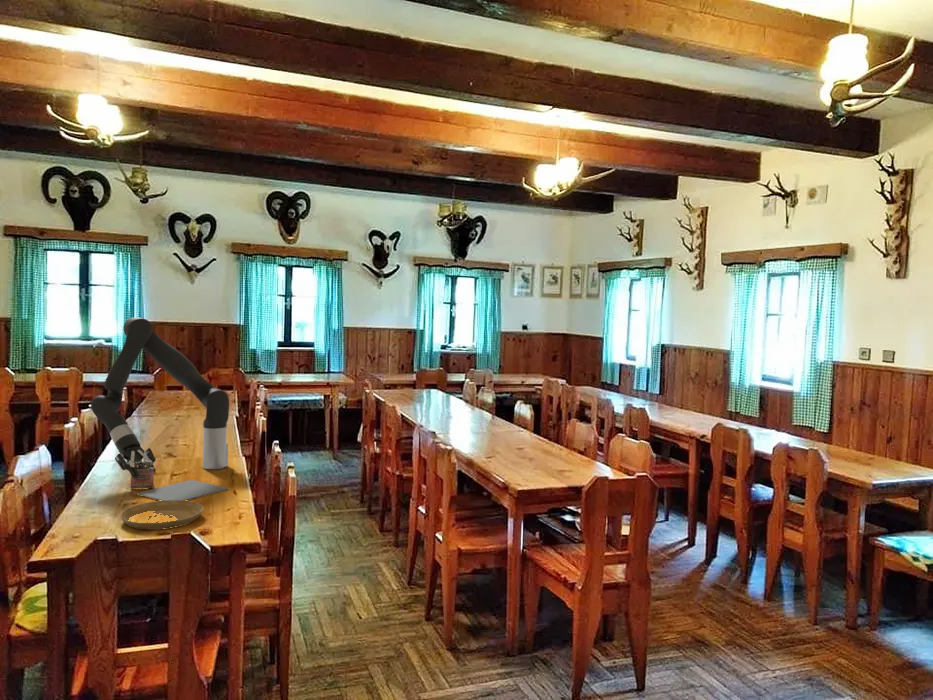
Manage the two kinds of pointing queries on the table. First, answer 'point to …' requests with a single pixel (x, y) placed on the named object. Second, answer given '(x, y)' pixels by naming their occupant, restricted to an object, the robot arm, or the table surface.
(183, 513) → the plant saucer
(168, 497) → the mat
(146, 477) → the lighter
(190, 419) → the table surface
